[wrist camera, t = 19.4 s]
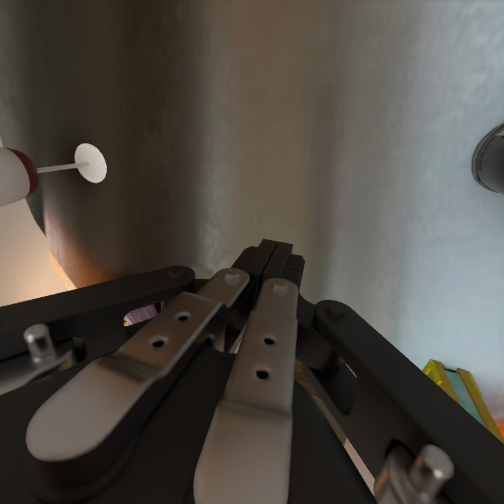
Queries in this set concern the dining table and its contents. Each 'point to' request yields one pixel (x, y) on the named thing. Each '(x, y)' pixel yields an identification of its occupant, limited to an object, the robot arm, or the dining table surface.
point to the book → (463, 393)
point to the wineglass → (26, 174)
